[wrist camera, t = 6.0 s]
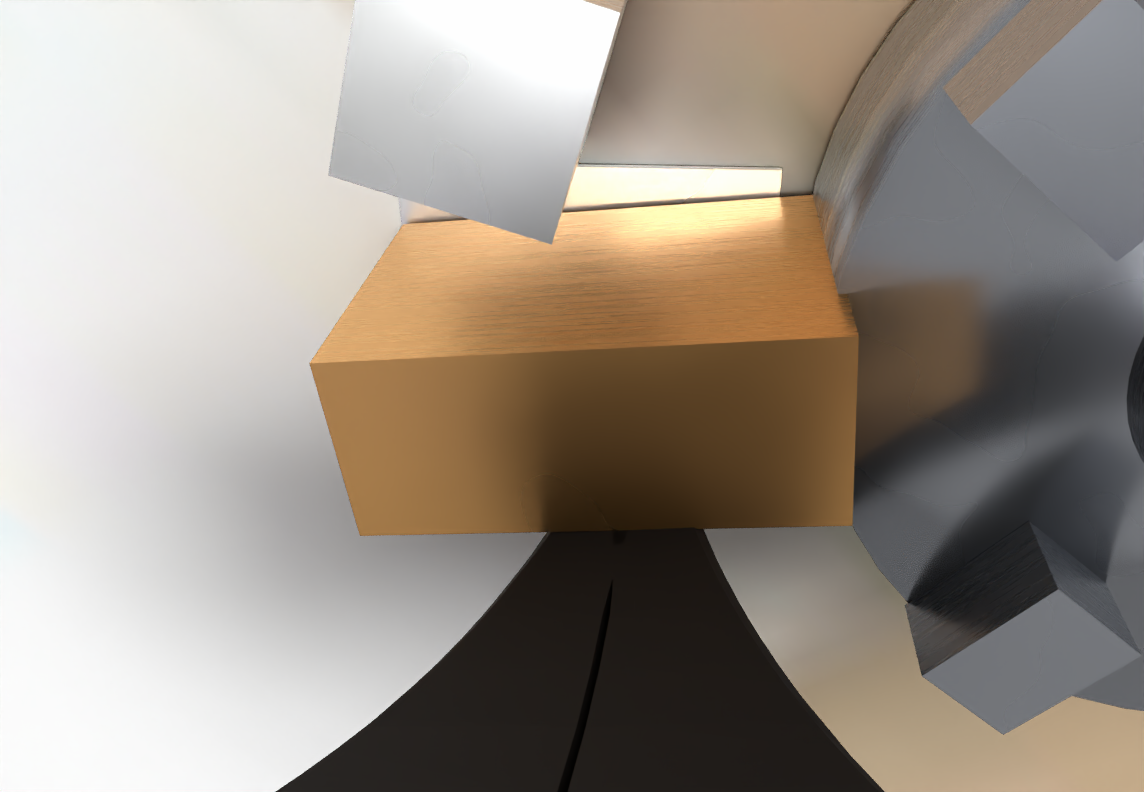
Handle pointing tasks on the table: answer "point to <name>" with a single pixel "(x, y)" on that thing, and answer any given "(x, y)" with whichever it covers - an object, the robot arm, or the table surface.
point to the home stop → (498, 116)
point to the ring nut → (822, 357)
